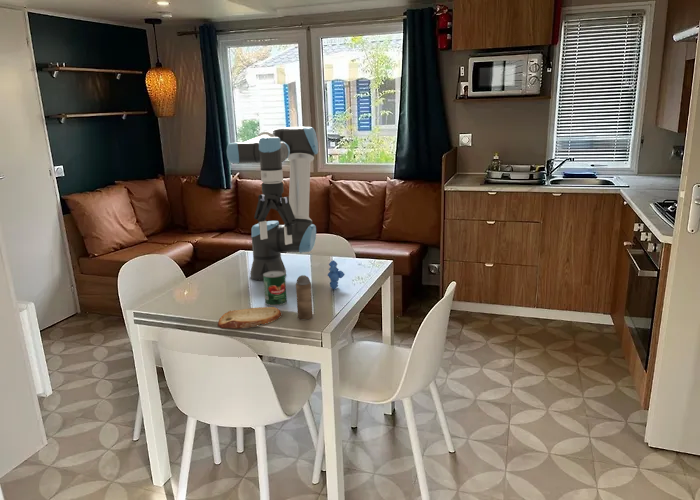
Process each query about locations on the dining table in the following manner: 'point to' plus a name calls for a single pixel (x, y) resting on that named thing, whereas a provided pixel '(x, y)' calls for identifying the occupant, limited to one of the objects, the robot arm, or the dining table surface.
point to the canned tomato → (275, 288)
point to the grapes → (334, 274)
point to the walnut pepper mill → (304, 297)
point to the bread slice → (248, 317)
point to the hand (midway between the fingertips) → (276, 241)
